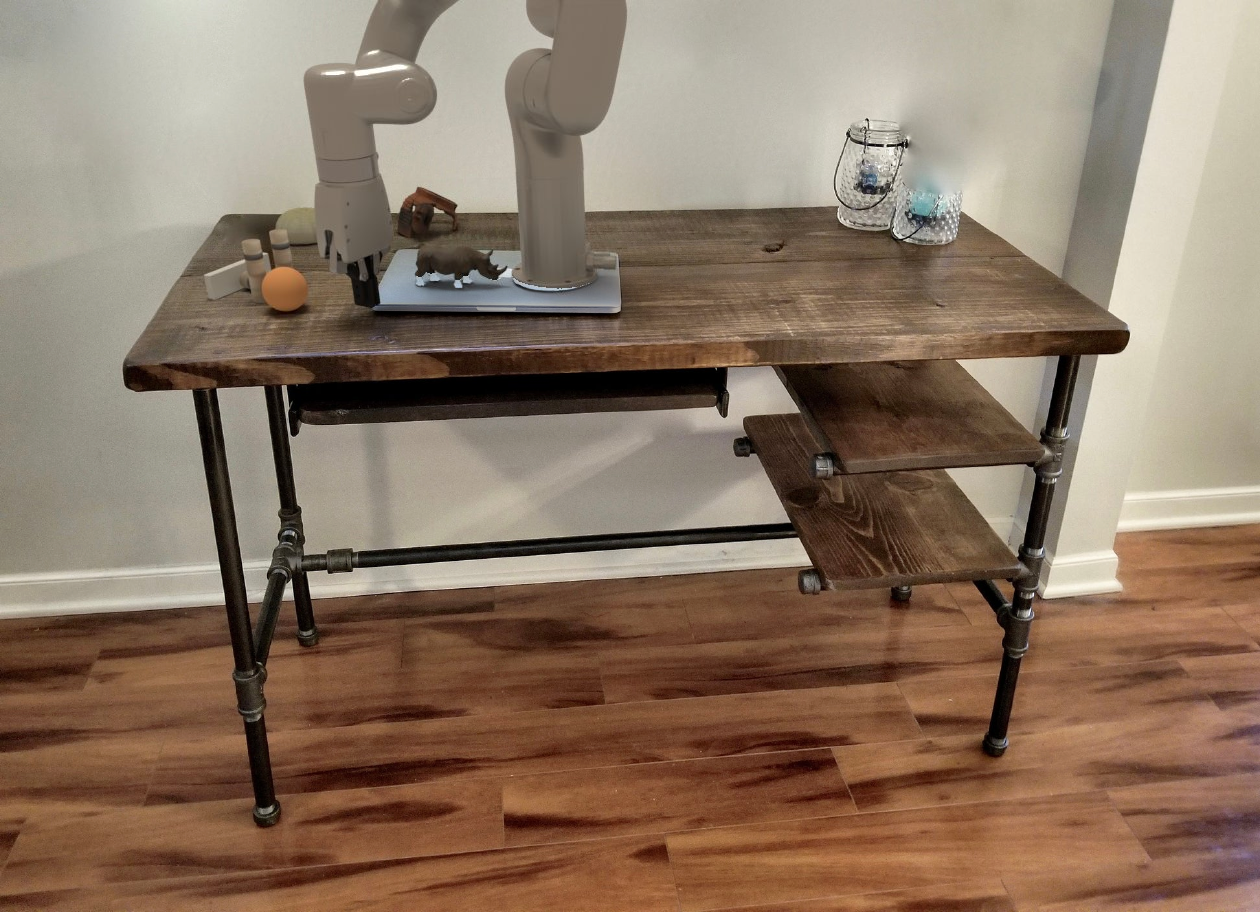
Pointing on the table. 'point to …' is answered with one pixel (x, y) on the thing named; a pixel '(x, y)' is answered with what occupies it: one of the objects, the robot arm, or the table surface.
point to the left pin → (254, 267)
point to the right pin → (281, 248)
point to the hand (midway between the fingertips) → (367, 304)
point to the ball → (284, 289)
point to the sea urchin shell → (299, 225)
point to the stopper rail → (229, 278)
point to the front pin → (244, 280)
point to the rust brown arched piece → (423, 211)
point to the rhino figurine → (455, 262)
